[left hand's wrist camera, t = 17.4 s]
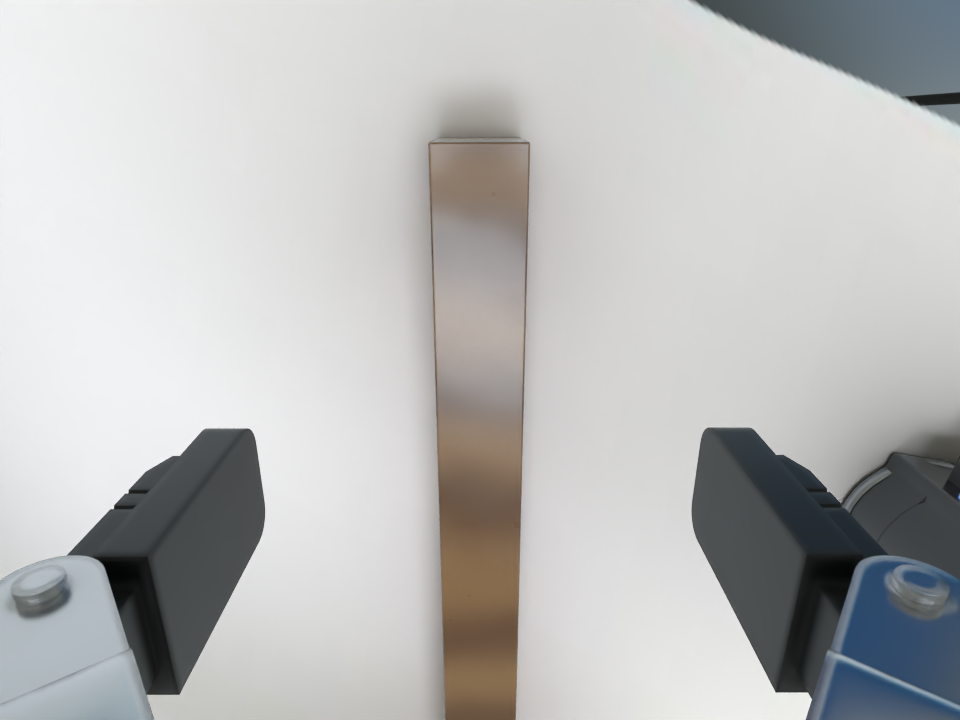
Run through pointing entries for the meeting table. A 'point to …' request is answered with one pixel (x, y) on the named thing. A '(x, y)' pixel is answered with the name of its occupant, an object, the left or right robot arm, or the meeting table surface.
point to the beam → (479, 411)
